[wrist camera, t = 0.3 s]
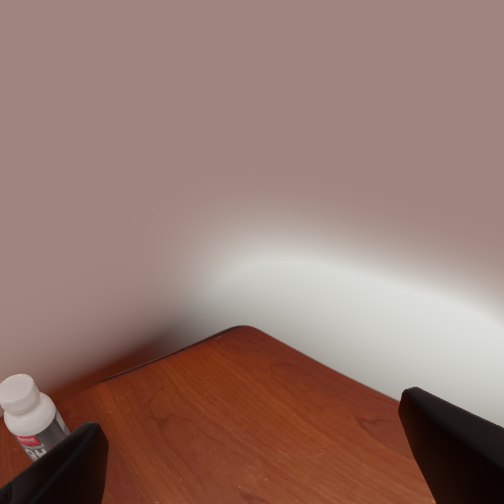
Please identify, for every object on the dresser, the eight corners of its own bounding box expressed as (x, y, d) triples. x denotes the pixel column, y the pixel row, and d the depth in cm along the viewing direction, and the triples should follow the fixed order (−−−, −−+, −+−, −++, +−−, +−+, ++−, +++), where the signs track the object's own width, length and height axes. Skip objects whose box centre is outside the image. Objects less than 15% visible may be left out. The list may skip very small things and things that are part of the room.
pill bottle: (49, 489, 18) (-9, 415, 15) (34, 454, 21) (-14, 381, 18) (93, 468, 21) (46, 391, 18) (74, 435, 25) (33, 361, 22)
